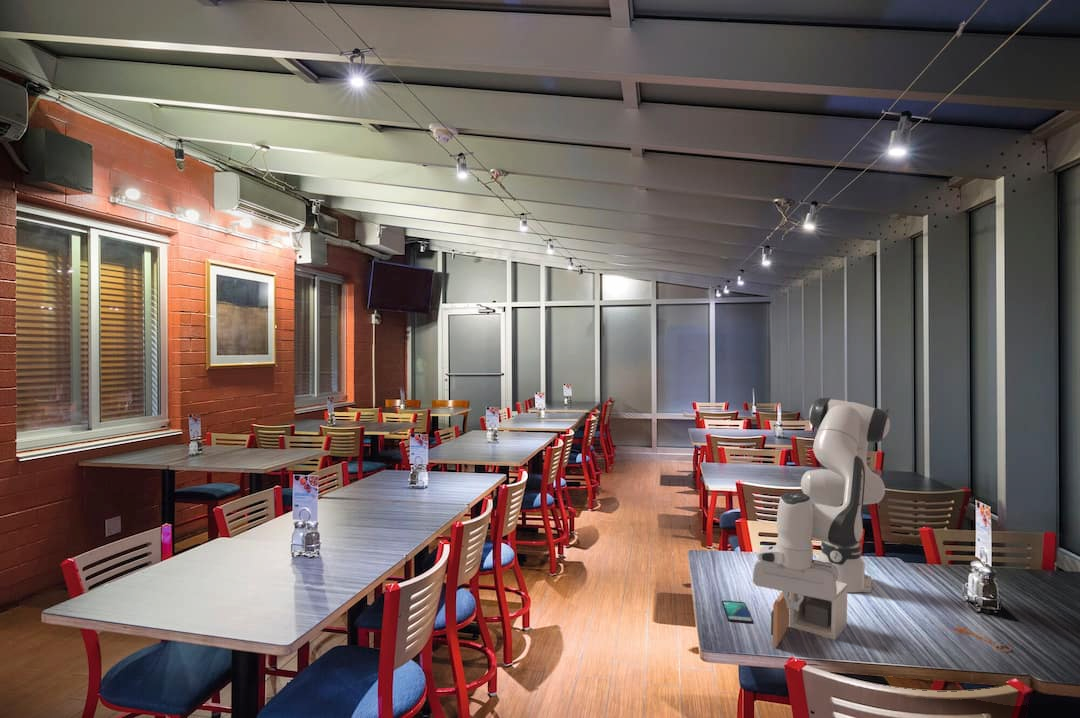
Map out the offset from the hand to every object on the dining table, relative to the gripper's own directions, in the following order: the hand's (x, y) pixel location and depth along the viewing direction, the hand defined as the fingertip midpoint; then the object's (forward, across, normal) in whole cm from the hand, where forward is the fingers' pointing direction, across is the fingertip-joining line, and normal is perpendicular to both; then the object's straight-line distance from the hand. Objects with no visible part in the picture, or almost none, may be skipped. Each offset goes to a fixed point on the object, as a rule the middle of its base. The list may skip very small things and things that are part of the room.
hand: (793, 609), depth 155 cm
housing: (+11, -4, -19) cm, 22 cm away
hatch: (+10, +4, -6) cm, 13 cm away
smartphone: (+11, +18, -16) cm, 26 cm away
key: (+12, -43, -35) cm, 57 cm away
